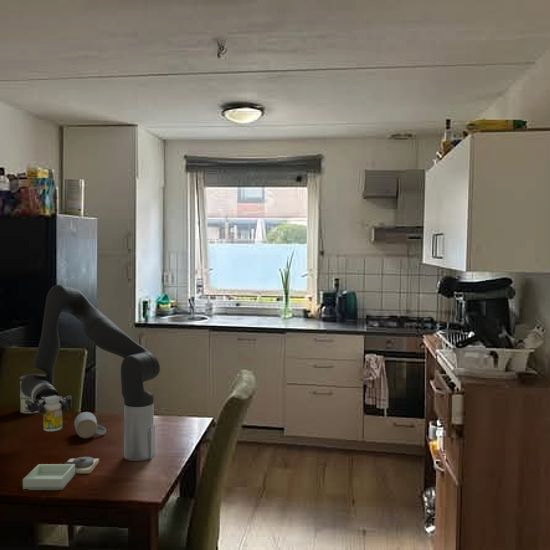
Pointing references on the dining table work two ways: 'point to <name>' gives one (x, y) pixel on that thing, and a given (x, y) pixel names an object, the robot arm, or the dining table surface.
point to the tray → (49, 477)
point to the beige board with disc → (83, 464)
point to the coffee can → (25, 397)
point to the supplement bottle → (52, 414)
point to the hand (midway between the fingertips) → (54, 409)
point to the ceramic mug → (87, 425)
